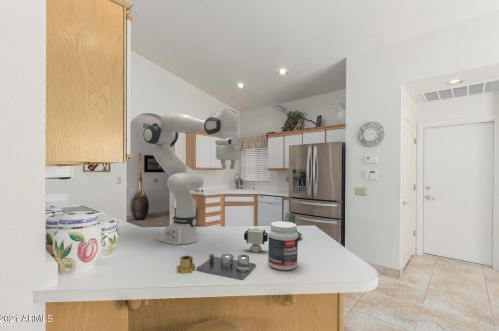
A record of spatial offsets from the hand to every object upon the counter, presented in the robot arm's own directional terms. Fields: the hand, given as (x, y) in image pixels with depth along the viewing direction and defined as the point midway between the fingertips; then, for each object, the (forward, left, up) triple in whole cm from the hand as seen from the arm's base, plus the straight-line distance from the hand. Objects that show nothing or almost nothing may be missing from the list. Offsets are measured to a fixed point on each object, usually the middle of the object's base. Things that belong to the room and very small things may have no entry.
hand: (228, 169), depth 129 cm
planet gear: (-5, -27, -42) cm, 50 cm away
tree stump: (+22, +35, -42) cm, 59 cm away
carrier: (+10, -19, -42) cm, 47 cm away
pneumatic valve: (+14, +6, -42) cm, 45 cm away
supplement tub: (+31, -6, -42) cm, 52 cm away
